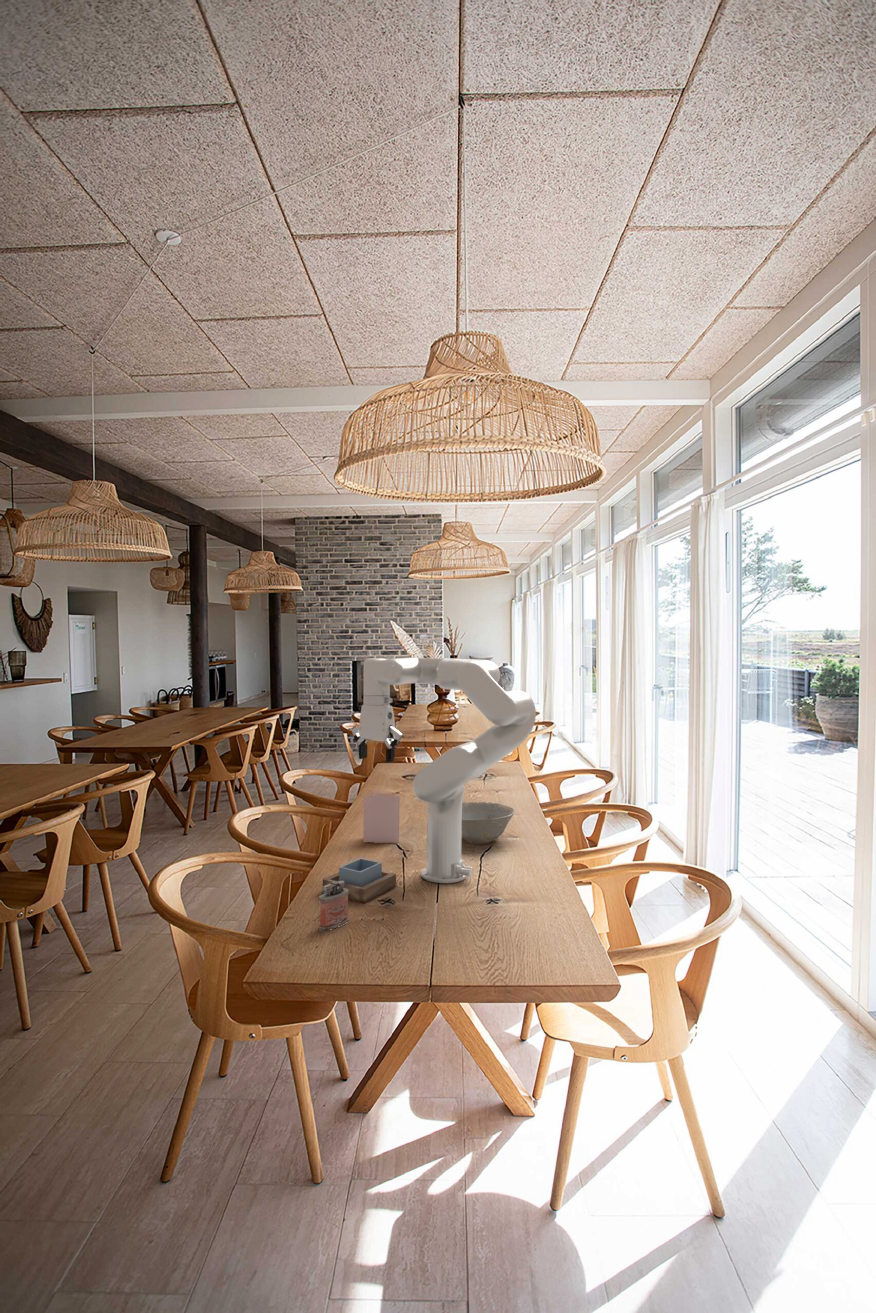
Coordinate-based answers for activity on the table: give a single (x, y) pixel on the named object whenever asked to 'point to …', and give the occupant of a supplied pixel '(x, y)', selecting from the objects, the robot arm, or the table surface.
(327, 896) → the lighter
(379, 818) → the greeting card
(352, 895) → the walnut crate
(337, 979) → the table surface
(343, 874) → the small crate
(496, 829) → the ceramic bowl
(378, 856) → the table surface
